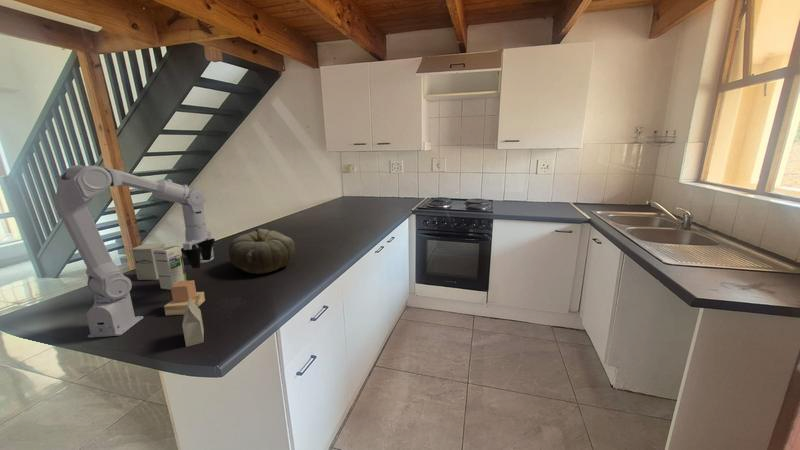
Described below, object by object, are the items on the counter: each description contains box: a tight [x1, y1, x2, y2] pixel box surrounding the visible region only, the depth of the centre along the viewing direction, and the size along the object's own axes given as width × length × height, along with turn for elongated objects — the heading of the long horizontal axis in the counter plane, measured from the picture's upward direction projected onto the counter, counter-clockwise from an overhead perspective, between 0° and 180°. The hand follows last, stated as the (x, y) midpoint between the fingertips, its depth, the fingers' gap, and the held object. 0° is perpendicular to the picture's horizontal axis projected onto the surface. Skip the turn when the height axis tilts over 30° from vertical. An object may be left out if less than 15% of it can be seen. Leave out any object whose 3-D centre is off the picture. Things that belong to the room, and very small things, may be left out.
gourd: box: [228, 228, 296, 275], centre depth 130 cm, size 25×25×17 cm
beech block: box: [163, 291, 206, 316], centre depth 98 cm, size 9×7×3 cm
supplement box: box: [131, 243, 166, 281], centre depth 121 cm, size 7×7×13 cm
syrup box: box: [153, 245, 188, 291], centre depth 112 cm, size 6×6×14 cm
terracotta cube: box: [170, 280, 197, 302], centre depth 97 cm, size 4×4×5 cm
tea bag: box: [181, 298, 205, 348], centre depth 81 cm, size 4×7×10 cm, turn 31°
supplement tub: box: [184, 226, 215, 264], centre depth 139 cm, size 10×10×15 cm
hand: (201, 263), depth 106 cm, fingers open, 7 cm apart
